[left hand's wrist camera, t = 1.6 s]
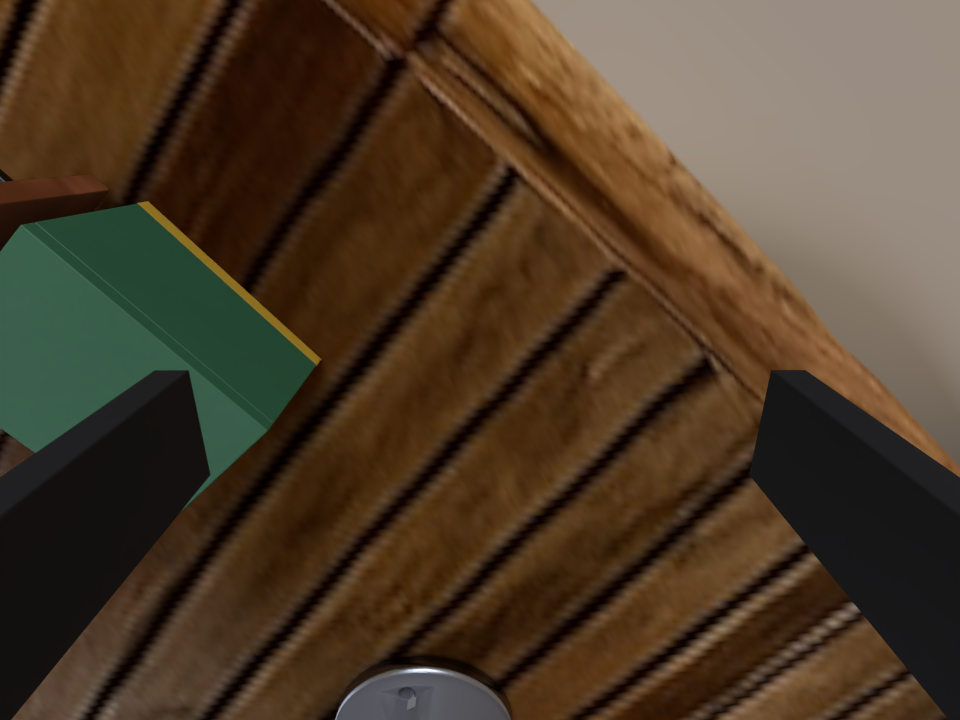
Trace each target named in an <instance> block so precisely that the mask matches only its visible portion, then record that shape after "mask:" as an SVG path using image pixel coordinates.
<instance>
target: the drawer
mask: <svg viewBox="0 0 960 720" xmlns="http://www.w3.org/2000/svg"><path fill="white" fill-rule="evenodd" d="M108 192H109V189H108V188H107V187H106V186H104V185H103V184H102V183H101V182H100V181H99V180H98V179H97V178H96V177H94V176H93V175H92V174H91V175H79V176H67V177H55V178H43V179H31V180H19V181H14V180H12V179H11V178H10V177H9V176H8V175H7V174H5V173H4V172H3V171H2V170H1V169H0V251H1V250H2V249H3V247H4V246H5V245H6V244H7V242H8V241H9V240H10V238H11V237H12V236H13V234H14V233H15V232H16V231H17V229H18V228H19V227H20V225H23V224H29V223H35V222H39V221H45V220H50V219H56V218H62V217H67V216H73V215H78V214H84V213H89V212H93V210H94V209H95V208H96V207H97V205H98V204H99V203H100V202H101V200H102V199H103V198H104V197H105V195H106V194H107V193H108Z"/></svg>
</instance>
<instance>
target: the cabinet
mask: <svg viewBox="0 0 960 720" xmlns="http://www.w3.org/2000/svg"><path fill="white" fill-rule="evenodd" d="M320 361H321V359H320V358H319V357H318V356H317V355H316V354H315V353H314V352H313V351H312V350H311V349H309V348H308V347H307V346H306V345H305V344H304V343H303V342H302V341H301V340H300V339H298V338H297V337H296V336H295V335H294V334H293V333H292V332H291V331H290V330H289V329H287V328H286V327H285V326H284V325H283V324H282V323H281V322H280V321H279V320H278V319H277V318H275V317H274V316H273V315H272V314H271V313H270V312H269V311H268V310H267V309H266V308H264V307H263V306H262V305H261V304H260V303H259V302H258V301H257V300H256V299H255V298H253V297H252V296H251V295H250V294H249V293H248V292H247V291H246V290H245V289H244V288H242V287H241V286H240V285H239V284H238V283H237V282H236V281H235V280H234V279H233V278H232V277H230V276H229V275H228V274H227V273H226V272H225V271H224V270H223V269H222V268H221V267H219V266H218V265H217V264H216V263H215V262H214V261H213V260H212V259H211V258H210V257H208V256H207V255H206V254H205V253H204V252H203V251H202V250H201V249H200V248H199V247H197V246H196V245H195V244H194V243H193V242H192V241H191V240H190V239H189V238H188V237H186V236H185V235H184V234H183V233H182V232H181V231H180V230H179V229H178V228H177V227H176V226H174V225H173V224H172V223H171V222H170V221H169V220H168V219H167V218H166V217H165V216H163V215H162V214H161V213H160V212H159V211H158V210H157V209H156V208H155V207H154V206H152V205H151V204H150V203H149V202H148V201H146V202H141V203H137V204H134V205H128V206H123V207H117V208H112V209H106V210H100V211H95V212H89V213H84V214H78V215H73V216H67V217H62V218H56V219H50V220H45V221H39V222H35V223H29V224H23V225H20V227H19V228H18V229H17V231H16V232H15V233H14V234H13V236H12V237H11V238H10V240H9V241H8V242H7V244H6V245H5V246H4V247H3V249H2V250H1V251H0V428H1V429H3V430H4V431H6V432H7V433H8V434H10V435H11V436H12V437H14V438H15V439H17V440H18V441H19V442H21V443H22V444H24V445H25V446H26V447H28V448H29V449H31V450H32V451H33V452H35V453H36V452H38V451H39V450H41V449H42V448H43V447H45V446H46V445H48V444H49V443H51V442H52V441H54V440H55V439H56V438H58V437H59V436H61V435H62V434H64V433H65V432H67V431H68V430H69V429H71V428H72V427H74V426H75V425H77V424H78V423H79V422H81V421H82V420H84V419H85V418H87V417H88V416H90V415H91V414H92V413H94V412H95V411H97V410H98V409H100V408H101V407H103V406H104V405H105V404H107V403H108V402H110V401H111V400H113V399H114V398H115V397H117V396H118V395H120V394H121V393H123V392H124V391H126V390H127V389H128V388H130V387H131V386H133V385H134V384H136V383H137V382H139V381H140V380H141V379H143V378H144V377H146V376H147V375H149V374H150V373H151V372H153V371H154V370H189V374H190V379H191V384H192V388H193V393H194V398H195V403H196V407H197V412H198V417H199V422H200V427H201V431H202V436H203V441H204V446H205V450H206V455H207V460H208V465H209V470H210V474H211V475H210V476H209V477H208V479H207V480H206V481H205V482H204V484H203V485H202V486H201V487H200V488H199V490H198V491H197V492H196V493H195V495H194V496H193V497H192V498H191V500H190V501H189V502H188V503H187V504H186V506H185V507H184V508H183V509H182V511H183V510H184V509H185V508H186V507H187V506H188V505H189V504H190V503H191V502H192V501H193V500H194V499H195V498H197V497H198V496H199V495H200V494H201V493H202V492H203V491H204V490H205V489H206V488H207V487H208V486H209V485H211V484H212V483H213V482H214V481H215V480H216V479H217V478H218V477H219V476H220V475H221V474H222V473H223V472H225V471H226V470H227V469H228V468H229V467H230V466H231V465H232V464H233V463H234V462H235V461H236V460H237V459H239V458H240V457H241V456H242V455H243V454H244V453H245V452H246V451H247V450H248V449H249V448H250V447H251V446H252V445H254V444H255V443H256V442H257V441H258V440H259V439H260V438H261V437H262V436H263V435H264V434H265V433H266V432H268V430H269V429H270V428H271V426H272V425H273V424H274V422H275V421H276V419H277V418H278V417H279V415H280V414H281V413H282V411H283V410H284V409H285V407H286V406H287V405H288V403H289V402H290V401H291V399H292V398H293V397H294V395H295V394H296V392H297V391H298V390H299V388H300V387H301V386H302V384H303V383H304V382H305V380H306V379H307V378H308V376H309V375H310V374H311V372H312V371H313V369H314V368H315V367H316V366H317V365H318V363H319V362H320Z"/></svg>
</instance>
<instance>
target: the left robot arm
mask: <svg viewBox="0 0 960 720" xmlns="http://www.w3.org/2000/svg"><path fill="white" fill-rule="evenodd" d="M210 475H211V474H210V470H209V465H208V460H207V455H206V450H205V446H204V441H203V436H202V431H201V427H200V422H199V417H198V412H197V407H196V403H195V398H194V393H193V388H192V384H191V379H190V374H189V370H154V371H153V372H151V373H150V374H149V375H147V376H146V377H144V378H143V379H141V380H140V381H139V382H137V383H136V384H134V385H133V386H131V387H130V388H128V389H127V390H126V391H124V392H123V393H121V394H120V395H118V396H117V397H115V398H114V399H113V400H111V401H110V402H108V403H107V404H105V405H104V406H103V407H101V408H100V409H98V410H97V411H95V412H94V413H92V414H91V415H90V416H88V417H87V418H85V419H84V420H82V421H81V422H79V423H78V424H77V425H75V426H74V427H72V428H71V429H69V430H68V431H67V432H65V433H64V434H62V435H61V436H59V437H58V438H56V439H55V440H54V441H52V442H51V443H49V444H48V445H46V446H45V447H43V448H42V449H41V450H39V451H38V452H36V453H35V454H33V455H32V456H31V457H29V458H28V459H26V460H25V461H23V462H22V463H20V464H19V465H18V466H16V467H15V468H13V469H12V470H10V471H9V472H7V473H6V474H5V475H3V476H2V477H0V720H11V719H12V718H13V717H14V715H15V714H16V713H17V712H18V711H19V709H20V708H21V707H22V706H23V704H24V703H25V702H26V701H27V699H28V698H29V697H30V696H31V695H32V693H33V692H34V691H35V690H36V688H37V687H38V686H39V685H40V684H41V682H42V681H43V680H44V679H45V677H46V676H47V675H48V674H49V672H50V671H51V670H52V669H53V668H54V666H55V665H56V664H57V663H58V661H59V660H60V659H61V658H62V657H63V655H64V654H65V653H66V652H67V650H68V649H69V648H70V647H71V645H72V644H73V643H74V642H75V641H76V639H77V638H78V637H79V636H80V634H81V633H82V632H83V631H84V630H85V628H86V627H87V626H88V625H89V623H90V622H91V621H92V620H93V619H94V617H95V616H96V615H97V614H98V612H99V611H100V610H101V609H102V607H103V606H104V605H105V604H106V603H107V601H108V600H109V599H110V598H111V596H112V595H113V594H114V593H115V592H116V590H117V589H118V588H119V587H120V585H121V584H122V583H123V582H124V580H125V579H126V578H127V577H128V576H129V574H130V573H131V572H132V571H133V569H134V568H135V567H136V566H137V565H138V563H139V562H140V561H141V560H142V558H143V557H144V556H145V555H146V553H147V552H148V551H149V550H150V549H151V547H152V546H153V545H154V544H155V542H156V541H157V540H158V539H159V538H160V536H161V535H162V534H163V533H164V531H165V530H166V529H167V528H168V527H169V525H170V524H171V523H172V522H173V520H174V519H175V518H176V517H177V515H178V514H179V513H180V512H181V511H182V509H183V508H184V507H185V506H186V504H187V503H188V502H189V501H190V500H191V498H192V497H193V496H194V495H195V493H196V492H197V491H198V490H199V488H200V487H201V486H202V485H203V484H204V482H205V481H206V480H207V479H208V477H209V476H210ZM749 475H750V476H751V477H752V479H753V480H754V481H755V482H756V484H757V485H758V486H759V487H760V488H761V490H762V491H763V492H764V493H765V495H766V496H767V497H768V498H769V500H770V501H771V502H772V503H773V504H774V506H775V507H776V508H777V509H778V511H779V512H780V513H781V514H782V515H783V517H784V518H785V519H786V520H787V522H788V523H789V524H790V525H791V527H792V528H793V529H794V530H795V531H796V533H797V534H798V535H799V536H800V538H801V539H802V540H803V541H804V542H805V544H806V545H807V546H808V547H809V549H810V550H811V551H812V552H813V553H814V555H815V556H816V557H817V558H818V560H819V561H820V562H821V563H822V565H823V566H824V567H825V568H826V569H827V571H828V572H829V573H830V574H831V576H832V577H833V578H834V579H835V580H836V582H837V583H838V584H839V585H840V587H841V588H842V589H843V590H844V592H845V593H846V594H847V595H848V596H849V598H850V599H851V600H852V601H853V603H854V604H855V605H856V606H857V607H858V609H859V610H860V611H861V612H862V614H863V615H864V616H865V617H866V619H867V620H868V621H869V622H870V623H871V625H872V626H873V627H874V628H875V630H876V631H877V632H878V633H879V634H880V636H881V637H882V638H883V639H884V641H885V642H886V643H887V644H888V645H889V647H890V648H891V649H892V650H893V652H894V653H895V654H896V655H897V657H898V658H899V659H900V660H901V661H902V663H903V664H904V665H905V666H906V668H907V669H908V670H909V671H910V672H911V674H912V675H913V676H914V677H915V679H916V680H917V681H918V682H919V684H920V685H921V686H922V687H923V688H924V690H925V691H926V692H927V693H928V695H929V696H930V697H931V698H932V699H933V701H934V702H935V703H936V704H937V706H938V707H939V708H940V709H941V711H942V712H943V713H944V714H945V715H946V717H947V718H948V719H949V720H960V477H958V476H957V475H955V474H954V473H953V472H951V471H950V470H948V469H947V468H945V467H944V466H942V465H941V464H940V463H938V462H937V461H935V460H934V459H932V458H931V457H929V456H928V455H927V454H925V453H924V452H922V451H921V450H919V449H918V448H917V447H915V446H914V445H912V444H911V443H909V442H908V441H906V440H905V439H904V438H902V437H901V436H899V435H898V434H896V433H895V432H893V431H892V430H891V429H889V428H888V427H886V426H885V425H883V424H882V423H881V422H879V421H878V420H876V419H875V418H873V417H872V416H870V415H869V414H868V413H866V412H865V411H863V410H862V409H860V408H859V407H857V406H856V405H855V404H853V403H852V402H850V401H849V400H847V399H846V398H845V397H843V396H842V395H840V394H839V393H837V392H836V391H834V390H833V389H832V388H830V387H829V386H827V385H826V384H824V383H823V382H821V381H820V380H819V379H817V378H816V377H814V376H813V375H811V374H810V373H809V372H807V371H806V370H771V374H770V379H769V384H768V388H767V393H766V398H765V403H764V407H763V412H762V417H761V422H760V427H759V431H758V436H757V441H756V446H755V450H754V455H753V460H752V465H751V470H750V474H749ZM335 720H512V711H511V707H510V704H509V701H508V699H507V697H506V695H505V694H504V692H503V691H502V689H501V688H500V687H499V686H498V685H497V684H496V683H495V682H494V681H493V680H492V679H491V678H490V677H488V676H487V675H485V674H484V673H482V672H481V671H479V670H477V669H475V668H473V667H471V666H469V665H466V664H464V663H461V662H458V661H455V660H451V659H446V658H440V657H431V656H412V657H403V658H398V659H393V660H389V661H386V662H383V663H380V664H378V665H375V666H373V667H371V668H369V669H368V670H366V671H364V672H363V673H361V674H360V675H359V676H358V677H356V678H355V679H354V680H353V681H352V682H351V683H350V684H349V686H348V687H347V688H346V690H345V691H344V693H343V695H342V697H341V700H340V703H339V707H338V711H337V715H336V719H335Z"/></svg>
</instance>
